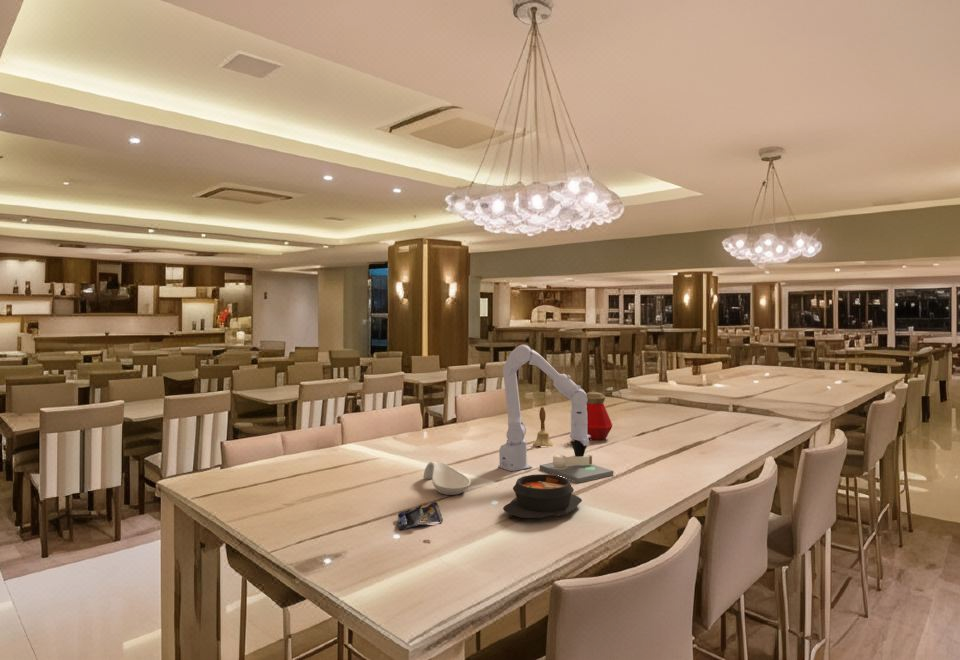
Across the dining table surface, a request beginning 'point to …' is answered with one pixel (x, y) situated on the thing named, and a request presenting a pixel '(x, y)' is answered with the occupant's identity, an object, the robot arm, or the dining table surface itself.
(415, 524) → the snack package
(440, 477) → the spoon rest
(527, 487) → the casserole
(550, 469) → the dial board
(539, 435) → the hand bell
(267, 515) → the dining table surface
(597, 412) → the bottle
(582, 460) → the brown-capped cream post
